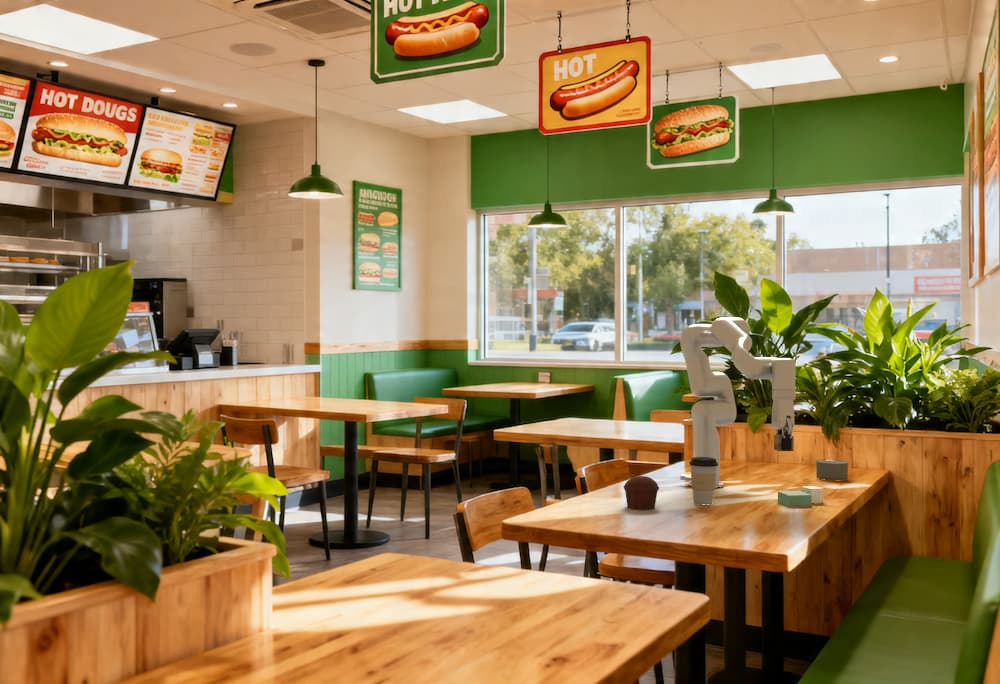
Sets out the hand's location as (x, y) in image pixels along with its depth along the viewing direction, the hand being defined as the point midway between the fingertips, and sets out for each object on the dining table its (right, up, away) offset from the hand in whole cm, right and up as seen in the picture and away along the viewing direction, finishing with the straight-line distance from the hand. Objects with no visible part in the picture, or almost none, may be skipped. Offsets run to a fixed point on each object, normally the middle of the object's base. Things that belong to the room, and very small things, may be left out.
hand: (783, 448), depth 314 cm
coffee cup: (-28, -18, -2) cm, 33 cm away
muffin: (-49, -18, -10) cm, 53 cm away
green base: (+3, -19, -2) cm, 19 cm away
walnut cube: (0, -1, 0) cm, 1 cm away
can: (+35, -18, +53) cm, 66 cm away
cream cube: (+10, -18, +3) cm, 21 cm away
